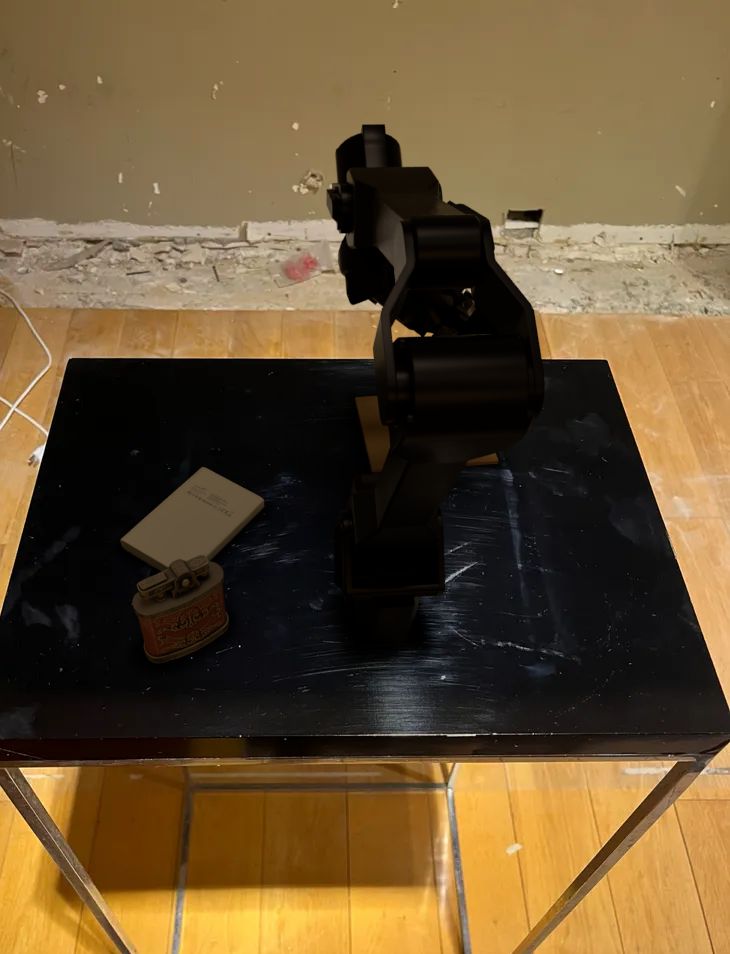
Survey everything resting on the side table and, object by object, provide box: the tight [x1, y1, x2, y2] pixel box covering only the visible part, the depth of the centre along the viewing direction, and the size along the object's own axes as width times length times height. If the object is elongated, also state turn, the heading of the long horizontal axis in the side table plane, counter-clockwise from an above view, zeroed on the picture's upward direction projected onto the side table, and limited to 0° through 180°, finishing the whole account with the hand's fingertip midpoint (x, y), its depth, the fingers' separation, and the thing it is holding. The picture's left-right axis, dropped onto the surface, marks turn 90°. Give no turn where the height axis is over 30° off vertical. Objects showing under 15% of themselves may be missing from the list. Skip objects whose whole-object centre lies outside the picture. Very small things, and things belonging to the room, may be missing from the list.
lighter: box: [132, 555, 230, 664], centre depth 71 cm, size 8×3×10 cm, turn 123°
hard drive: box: [120, 466, 265, 572], centre depth 82 cm, size 2×8×12 cm
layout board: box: [354, 395, 499, 474], centre depth 93 cm, size 12×14×1 cm
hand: (466, 335), depth 85 cm, fingers closed
